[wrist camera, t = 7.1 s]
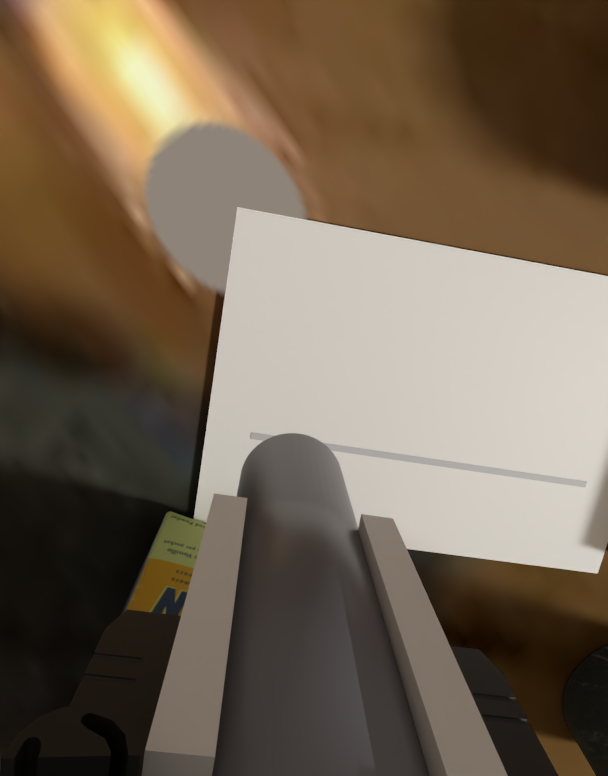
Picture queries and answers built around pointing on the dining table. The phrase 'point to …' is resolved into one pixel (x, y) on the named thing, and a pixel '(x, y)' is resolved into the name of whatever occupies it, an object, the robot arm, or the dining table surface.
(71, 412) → the dining table surface
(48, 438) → the dining table surface
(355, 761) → the marker
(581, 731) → the travel mug
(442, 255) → the paper
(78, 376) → the dining table surface
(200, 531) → the protein box
